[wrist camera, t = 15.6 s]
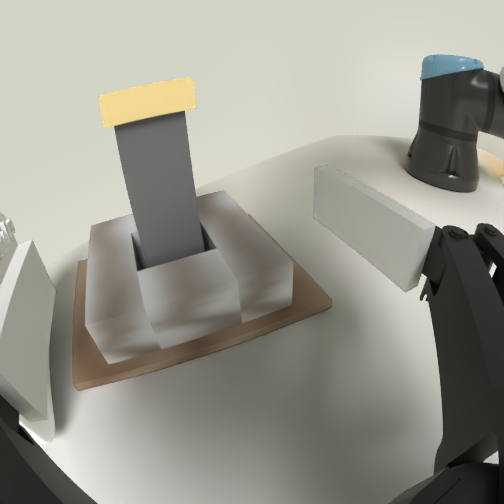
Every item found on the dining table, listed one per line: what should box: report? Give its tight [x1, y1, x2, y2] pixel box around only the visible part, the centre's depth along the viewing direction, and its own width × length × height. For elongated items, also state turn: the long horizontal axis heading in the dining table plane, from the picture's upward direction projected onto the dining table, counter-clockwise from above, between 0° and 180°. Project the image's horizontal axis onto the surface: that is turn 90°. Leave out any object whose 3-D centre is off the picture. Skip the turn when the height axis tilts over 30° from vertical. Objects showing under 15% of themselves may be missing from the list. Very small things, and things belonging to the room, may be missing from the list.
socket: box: [73, 191, 332, 391], centre depth 25 cm, size 20×16×5 cm
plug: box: [99, 77, 205, 268], centre depth 21 cm, size 6×6×16 cm
